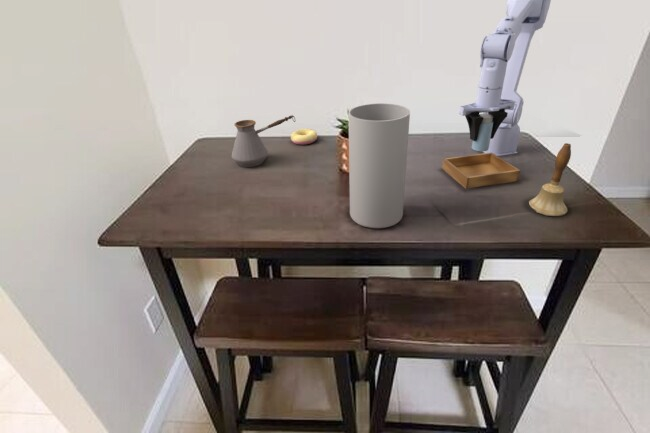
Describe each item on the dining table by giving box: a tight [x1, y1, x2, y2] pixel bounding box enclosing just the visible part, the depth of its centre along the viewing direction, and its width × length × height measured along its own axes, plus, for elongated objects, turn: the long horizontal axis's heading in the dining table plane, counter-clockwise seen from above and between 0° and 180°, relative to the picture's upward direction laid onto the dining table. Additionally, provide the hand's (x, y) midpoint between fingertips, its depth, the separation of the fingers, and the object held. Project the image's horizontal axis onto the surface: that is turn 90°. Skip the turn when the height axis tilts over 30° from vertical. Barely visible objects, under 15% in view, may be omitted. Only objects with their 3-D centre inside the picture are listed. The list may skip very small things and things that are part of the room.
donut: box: [290, 128, 318, 146], centre depth 136 cm, size 10×5×9 cm
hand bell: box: [528, 143, 572, 217], centre depth 87 cm, size 8×8×16 cm
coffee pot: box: [231, 114, 296, 168], centre depth 118 cm, size 21×12×15 cm, turn 84°
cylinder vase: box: [347, 102, 411, 229], centre depth 85 cm, size 12×12×25 cm
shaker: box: [471, 113, 494, 152], centre depth 102 cm, size 4×4×9 cm
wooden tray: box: [442, 152, 521, 189], centre depth 106 cm, size 15×13×4 cm
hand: (481, 138), depth 103 cm, fingers closed on shaker, 4 cm apart
